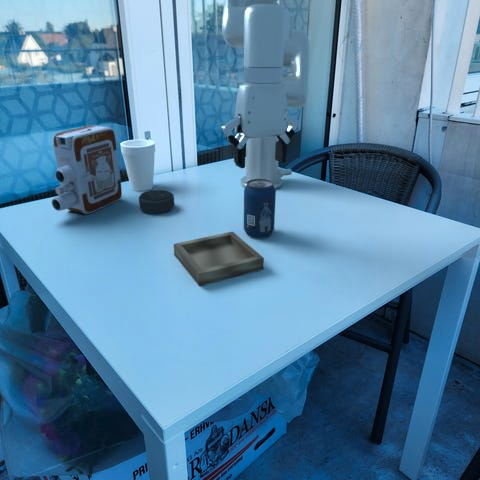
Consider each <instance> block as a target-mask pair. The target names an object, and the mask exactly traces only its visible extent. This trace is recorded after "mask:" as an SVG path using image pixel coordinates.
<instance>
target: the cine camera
mask: <svg viewBox="0 0 480 480" xmlns="http://www.w3.org/2000/svg"><path fill="white" fill-rule="evenodd" d="M52 138H53V139H52V146H53V152H54V157H55V162H56V168H57V170H56V171H55V174H54V175H55V178H56V180H57V182H58V183H60V185H59V186H57V187H55V188H54V189H55V193H56V194H57V196H55V197H53V198H52V200H51V206H52V207H53V209H54V210H55V211H58V212H61V211H64V210H66V209H67V210H68V211H72V212H74V213H79V214H83V215H89V214H91V213H94V212H96V211H99V210H100V209H103V208H105V207H107V206H109V205H112V204H114V203H116V202H117V201H120V200H121V198H122V195H123V194H122V181H121V173H120V167H119V166H120V163H119V156H118V148H117V141H116V134H115V132H114V130H113V129H112V128H111V127H109V126H108V127H107V126H100V125H94V124H93V125H86V126H82V127H77V128H73V129H70V130H65V131H60V132H57V133H55V134H54V135H53V137H52Z"/></svg>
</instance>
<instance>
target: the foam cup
mask: <svg viewBox="0 0 480 480" xmlns="http://www.w3.org/2000/svg"><path fill="white" fill-rule="evenodd" d="M120 150H121V151H120V152H121V155H122V157H123V161H124V165H125V169H126V173H127V177H128V181H129V185H130V188H131V190H133V191H136V192H146V191H150V190H153V189H152V188H154V175H155V174H154V173H155V172H154V171H155V154H156V143H155V141H154V140H151V139H130V140H129V139H128V140H125V141H122V142H120Z"/></svg>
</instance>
